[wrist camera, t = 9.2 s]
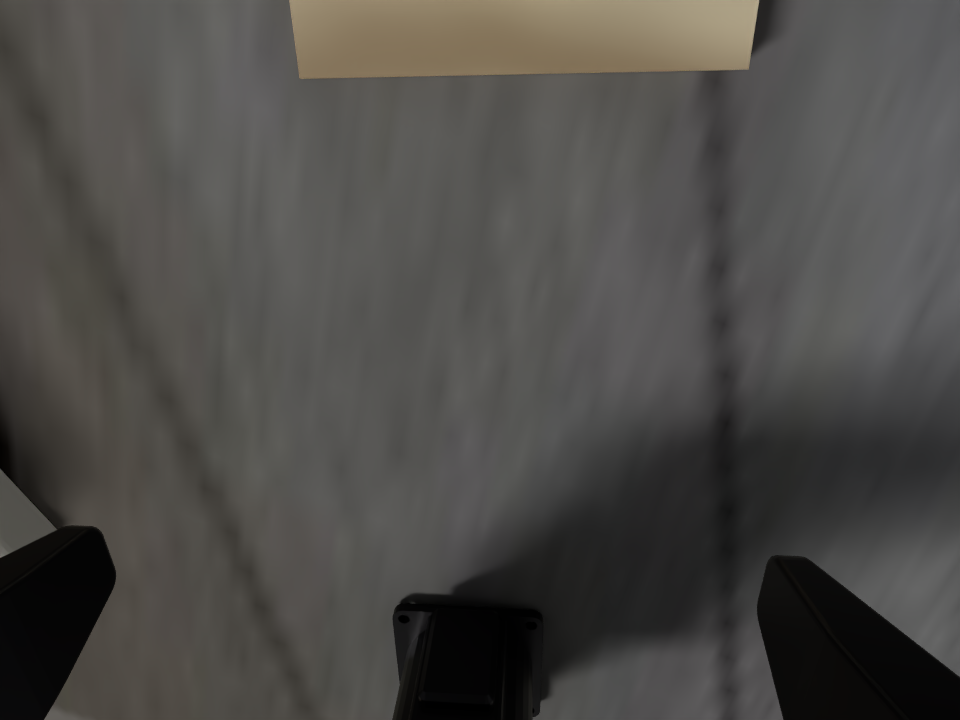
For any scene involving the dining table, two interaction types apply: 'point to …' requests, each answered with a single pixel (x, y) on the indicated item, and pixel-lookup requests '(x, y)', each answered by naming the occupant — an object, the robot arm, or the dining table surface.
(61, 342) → the dining table surface
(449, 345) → the dining table surface
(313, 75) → the base
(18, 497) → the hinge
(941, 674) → the robot arm
